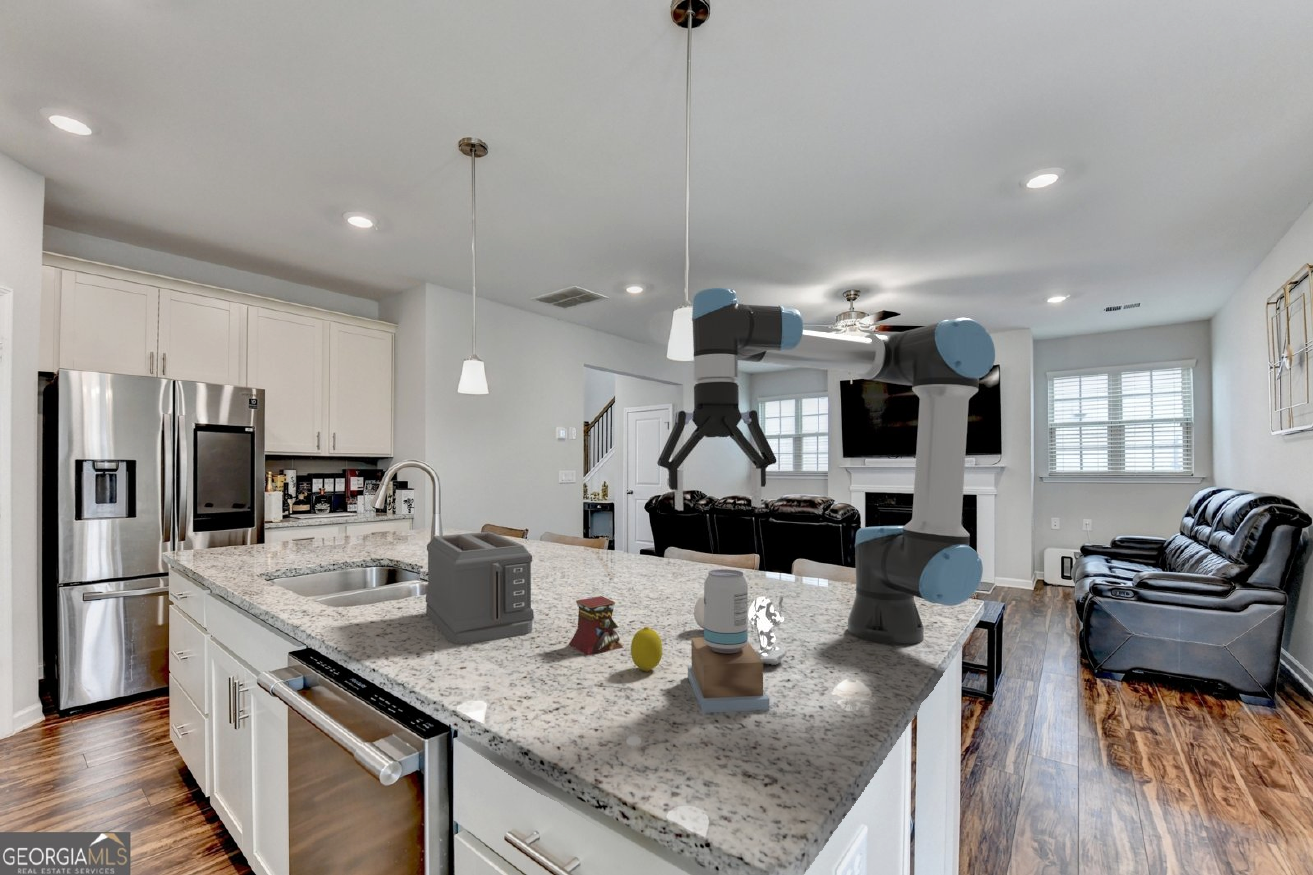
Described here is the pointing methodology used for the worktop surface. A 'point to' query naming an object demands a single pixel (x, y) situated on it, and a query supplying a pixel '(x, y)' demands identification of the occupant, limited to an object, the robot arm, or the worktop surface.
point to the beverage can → (725, 611)
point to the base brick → (727, 700)
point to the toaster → (479, 587)
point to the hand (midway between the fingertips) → (718, 508)
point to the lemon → (646, 649)
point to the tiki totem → (595, 627)
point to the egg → (699, 611)
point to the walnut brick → (727, 671)
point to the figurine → (767, 629)
